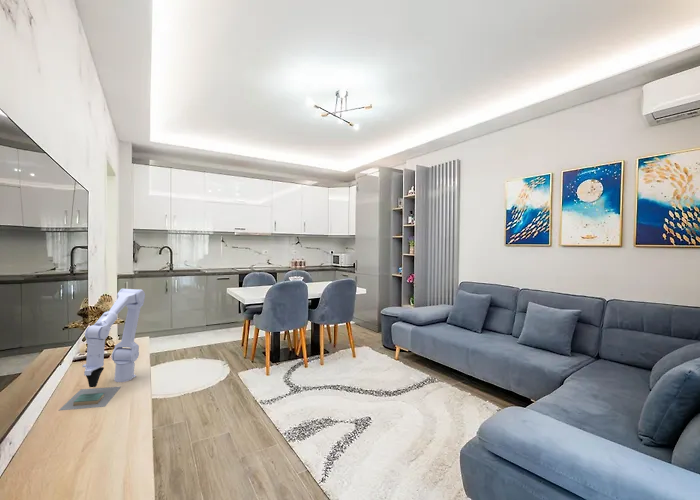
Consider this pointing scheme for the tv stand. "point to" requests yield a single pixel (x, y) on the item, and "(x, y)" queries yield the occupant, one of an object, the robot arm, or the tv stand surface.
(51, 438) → the tv stand surface
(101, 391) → the mat
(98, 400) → the tile
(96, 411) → the tv stand surface
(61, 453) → the tv stand surface
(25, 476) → the tv stand surface
